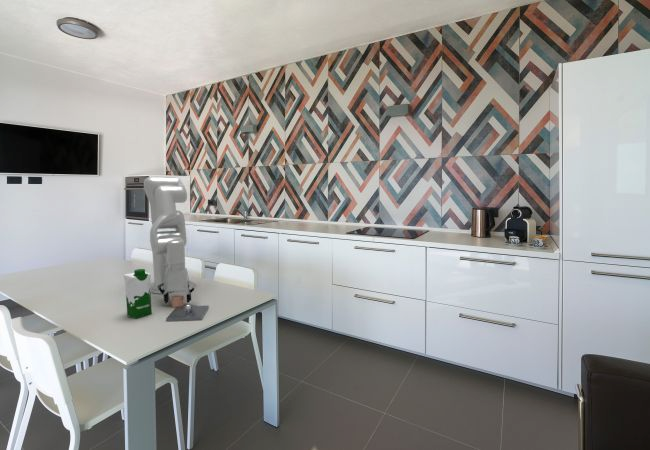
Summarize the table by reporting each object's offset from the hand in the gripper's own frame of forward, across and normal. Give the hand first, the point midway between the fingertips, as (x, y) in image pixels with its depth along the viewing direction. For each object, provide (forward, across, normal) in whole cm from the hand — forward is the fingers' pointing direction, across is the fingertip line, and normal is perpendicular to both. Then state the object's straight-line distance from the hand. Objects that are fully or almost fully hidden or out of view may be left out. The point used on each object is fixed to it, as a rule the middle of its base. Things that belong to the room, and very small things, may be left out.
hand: (177, 302), depth 156 cm
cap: (+1, 0, 0) cm, 1 cm away
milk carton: (+2, -13, -10) cm, 16 cm away
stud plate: (+1, +8, -12) cm, 14 cm away
